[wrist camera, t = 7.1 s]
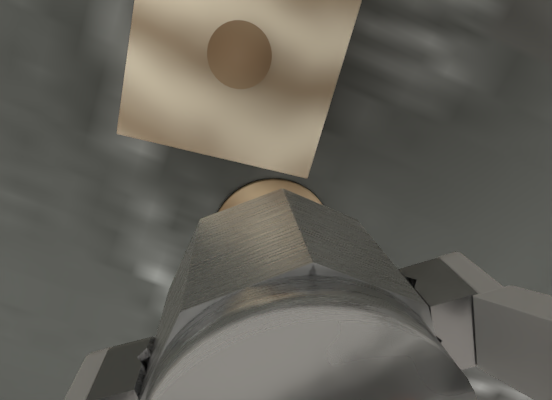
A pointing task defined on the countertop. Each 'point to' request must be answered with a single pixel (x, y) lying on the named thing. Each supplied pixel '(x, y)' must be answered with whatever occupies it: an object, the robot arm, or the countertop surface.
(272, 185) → the coaster
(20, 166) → the countertop surface
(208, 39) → the post stand
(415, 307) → the cap
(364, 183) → the countertop surface
